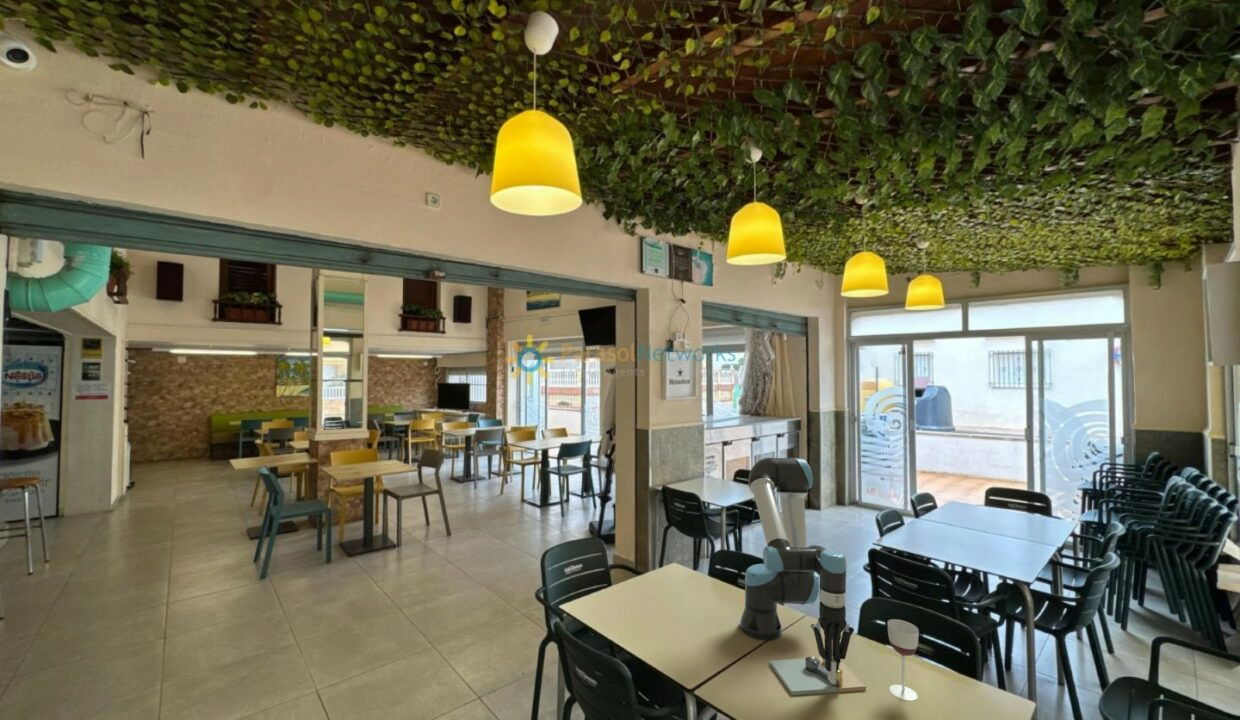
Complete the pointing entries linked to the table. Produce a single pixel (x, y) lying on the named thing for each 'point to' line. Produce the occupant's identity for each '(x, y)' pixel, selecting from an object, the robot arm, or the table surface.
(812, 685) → the door board
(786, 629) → the table surface
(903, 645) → the wineglass
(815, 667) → the swing bar
